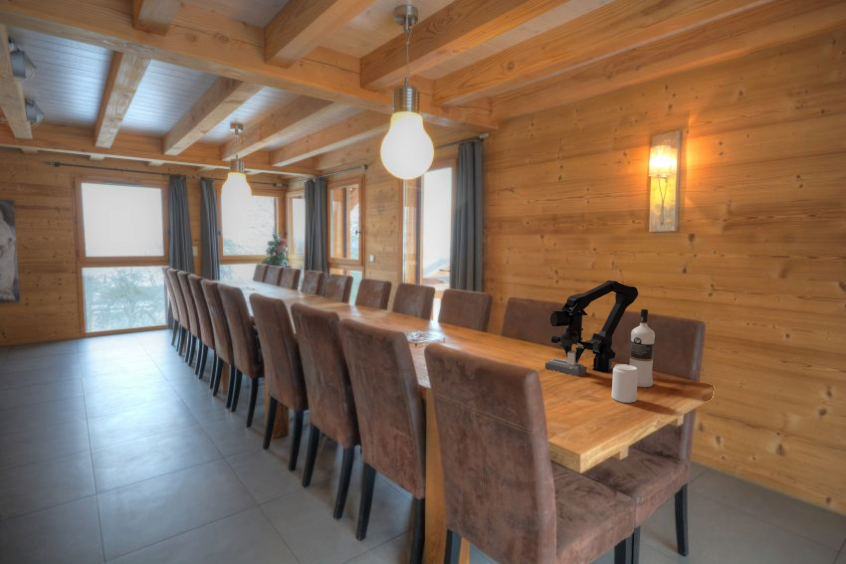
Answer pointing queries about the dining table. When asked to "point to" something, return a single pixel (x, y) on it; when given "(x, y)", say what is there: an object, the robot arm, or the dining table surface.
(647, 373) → the vodka
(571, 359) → the fader tab
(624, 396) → the white cylinder
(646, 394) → the dining table surface
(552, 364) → the fader console
